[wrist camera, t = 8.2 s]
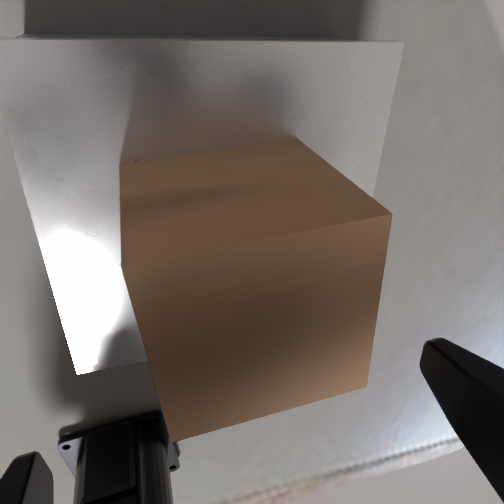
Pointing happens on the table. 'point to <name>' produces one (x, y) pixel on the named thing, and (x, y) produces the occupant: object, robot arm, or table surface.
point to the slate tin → (167, 139)
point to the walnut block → (250, 280)
